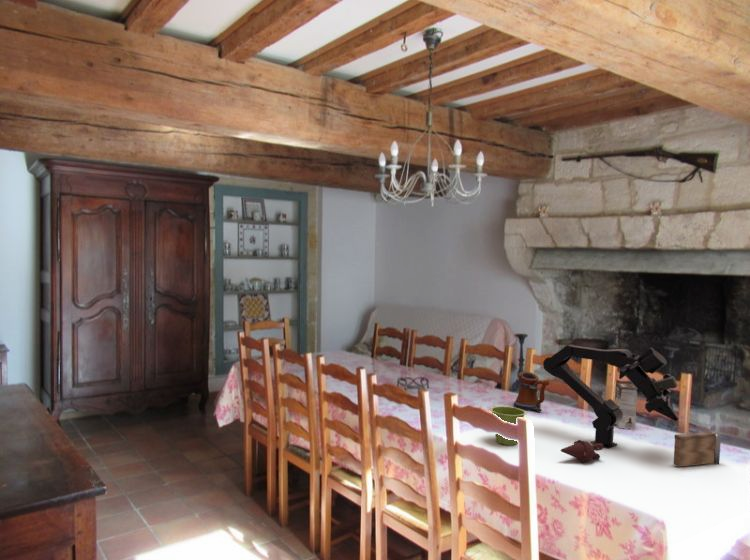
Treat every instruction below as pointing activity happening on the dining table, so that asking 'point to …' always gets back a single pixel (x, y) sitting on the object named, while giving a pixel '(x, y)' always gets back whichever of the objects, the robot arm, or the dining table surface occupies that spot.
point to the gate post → (717, 448)
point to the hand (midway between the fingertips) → (677, 420)
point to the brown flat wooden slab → (694, 448)
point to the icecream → (583, 450)
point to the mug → (530, 392)
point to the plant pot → (509, 416)
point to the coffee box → (626, 404)
